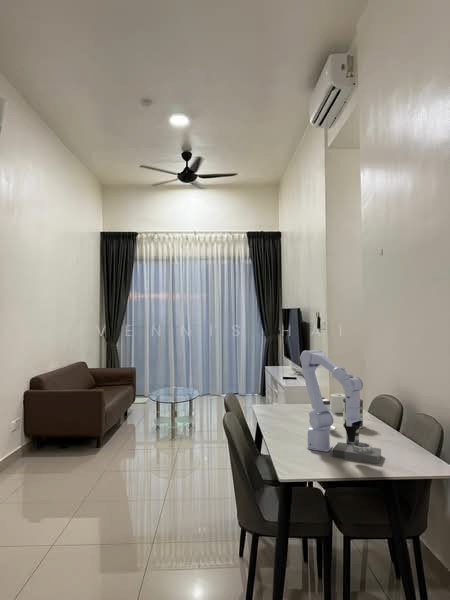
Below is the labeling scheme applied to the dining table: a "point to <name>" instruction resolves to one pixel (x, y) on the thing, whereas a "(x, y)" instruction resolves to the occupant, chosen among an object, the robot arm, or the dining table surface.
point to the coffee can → (345, 411)
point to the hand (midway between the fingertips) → (352, 439)
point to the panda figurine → (327, 404)
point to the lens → (355, 439)
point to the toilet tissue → (337, 403)
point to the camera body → (357, 452)
